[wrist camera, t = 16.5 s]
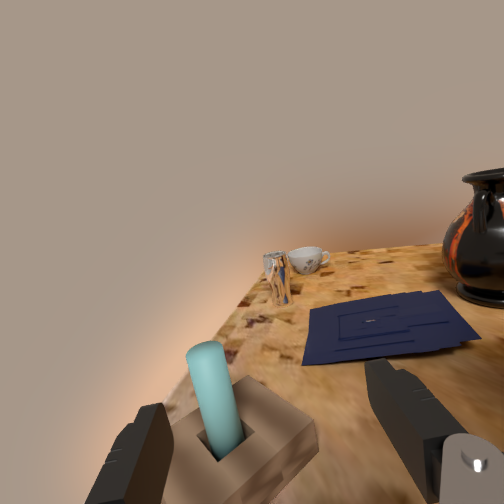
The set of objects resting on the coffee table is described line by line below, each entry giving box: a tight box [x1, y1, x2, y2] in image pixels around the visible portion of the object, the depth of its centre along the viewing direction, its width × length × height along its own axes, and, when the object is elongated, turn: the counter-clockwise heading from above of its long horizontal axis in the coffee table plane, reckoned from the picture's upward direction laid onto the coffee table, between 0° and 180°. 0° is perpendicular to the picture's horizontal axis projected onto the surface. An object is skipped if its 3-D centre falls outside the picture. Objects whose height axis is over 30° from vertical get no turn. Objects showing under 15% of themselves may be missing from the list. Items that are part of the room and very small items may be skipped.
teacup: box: [288, 247, 330, 274], centre depth 107 cm, size 15×12×8 cm
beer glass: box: [263, 251, 293, 308], centre depth 83 cm, size 7×7×15 cm
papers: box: [302, 290, 482, 365], centre depth 62 cm, size 24×30×4 cm
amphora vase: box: [442, 168, 504, 308], centre depth 64 cm, size 22×22×28 cm
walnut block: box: [161, 375, 319, 504], centre depth 38 cm, size 18×14×5 cm
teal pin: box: [186, 341, 245, 462], centre depth 36 cm, size 4×4×16 cm
